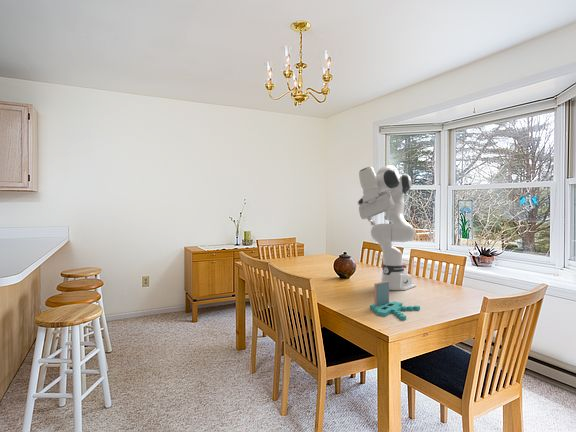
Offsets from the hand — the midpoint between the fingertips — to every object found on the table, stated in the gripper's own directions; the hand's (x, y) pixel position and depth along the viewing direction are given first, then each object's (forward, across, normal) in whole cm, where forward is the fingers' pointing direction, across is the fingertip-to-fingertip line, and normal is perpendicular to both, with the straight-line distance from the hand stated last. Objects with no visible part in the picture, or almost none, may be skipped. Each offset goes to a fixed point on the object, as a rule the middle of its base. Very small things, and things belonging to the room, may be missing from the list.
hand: (380, 222), depth 181 cm
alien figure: (+44, +6, +2) cm, 44 cm away
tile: (+39, +11, +2) cm, 41 cm away
